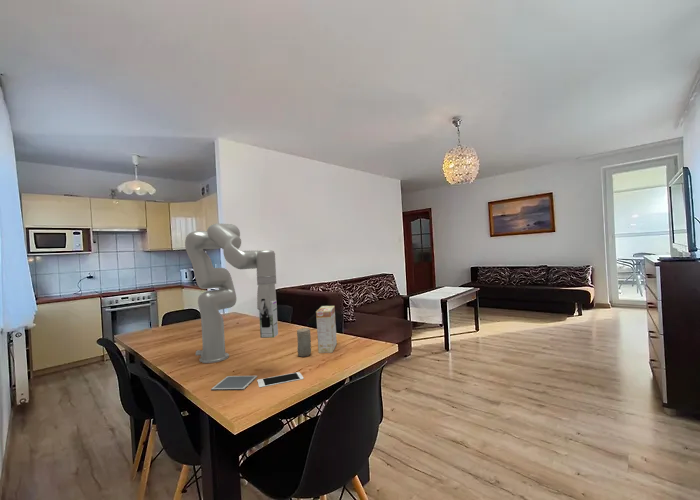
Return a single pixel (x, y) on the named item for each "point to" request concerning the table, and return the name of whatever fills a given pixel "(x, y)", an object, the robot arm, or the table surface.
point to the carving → (304, 342)
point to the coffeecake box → (326, 329)
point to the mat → (234, 383)
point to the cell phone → (279, 379)
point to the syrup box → (273, 329)
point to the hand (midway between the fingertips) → (268, 324)
